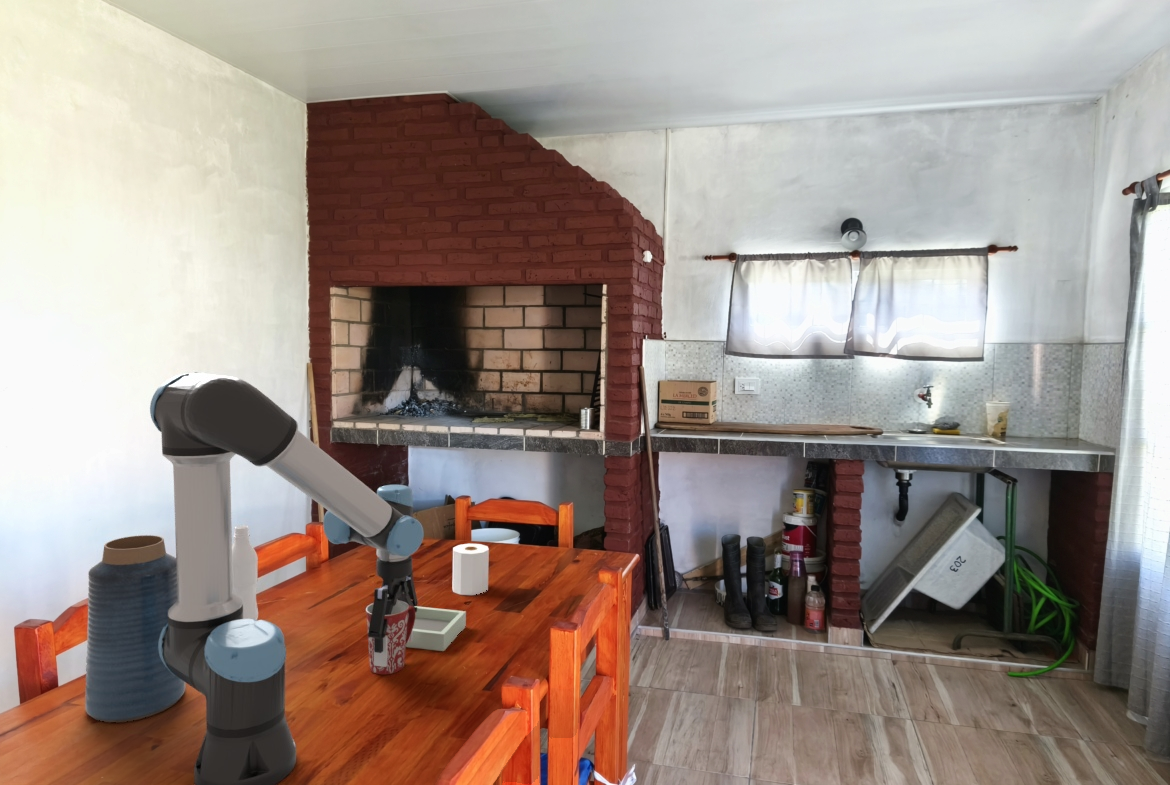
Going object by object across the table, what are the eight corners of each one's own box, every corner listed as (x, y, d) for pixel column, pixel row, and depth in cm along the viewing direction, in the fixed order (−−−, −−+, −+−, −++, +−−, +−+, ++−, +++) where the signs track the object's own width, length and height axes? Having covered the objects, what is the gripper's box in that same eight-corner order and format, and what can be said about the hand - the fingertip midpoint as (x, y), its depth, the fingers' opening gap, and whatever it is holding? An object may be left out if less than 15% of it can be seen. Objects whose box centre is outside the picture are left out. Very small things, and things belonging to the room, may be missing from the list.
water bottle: (218, 629, 171) (218, 528, 169) (245, 619, 177) (244, 521, 176) (238, 636, 168) (237, 532, 166) (264, 625, 174) (264, 525, 172)
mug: (386, 681, 148) (386, 618, 147) (356, 669, 153) (356, 608, 152) (428, 658, 159) (429, 600, 158) (399, 649, 163) (400, 592, 162)
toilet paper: (482, 597, 198) (483, 554, 197) (446, 593, 200) (447, 551, 199) (492, 585, 208) (493, 544, 207) (458, 582, 210) (459, 542, 209)
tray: (443, 651, 163) (443, 634, 162) (369, 642, 166) (369, 626, 166) (465, 626, 177) (465, 611, 177) (397, 619, 180) (397, 604, 180)
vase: (70, 730, 126) (66, 557, 124) (104, 687, 142) (101, 532, 140) (172, 719, 131) (170, 552, 129) (194, 678, 147) (193, 528, 144)
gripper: (384, 575, 142) (384, 680, 143) (432, 542, 165) (431, 632, 167) (350, 572, 143) (350, 676, 145) (402, 539, 167) (402, 629, 168)
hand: (394, 652), depth 156 cm, fingers closed on mug, 12 cm apart
